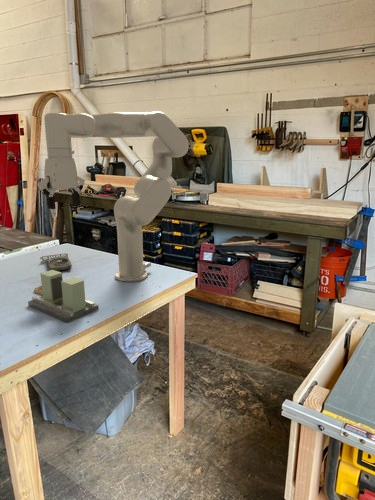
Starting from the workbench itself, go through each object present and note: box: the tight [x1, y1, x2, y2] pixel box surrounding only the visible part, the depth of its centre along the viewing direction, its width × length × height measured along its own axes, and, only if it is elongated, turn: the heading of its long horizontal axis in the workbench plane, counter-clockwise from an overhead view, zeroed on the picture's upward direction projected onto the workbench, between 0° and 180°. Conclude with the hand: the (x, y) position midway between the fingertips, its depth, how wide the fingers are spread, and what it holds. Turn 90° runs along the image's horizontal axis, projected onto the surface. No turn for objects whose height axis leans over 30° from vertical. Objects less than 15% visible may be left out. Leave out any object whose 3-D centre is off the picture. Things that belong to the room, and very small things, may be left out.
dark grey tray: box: [27, 295, 99, 324], centre depth 120 cm, size 12×20×3 cm, turn 54°
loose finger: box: [40, 270, 63, 303], centre depth 122 cm, size 4×6×9 cm
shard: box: [33, 285, 43, 295], centre depth 136 cm, size 11×8×2 cm
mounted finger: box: [61, 276, 86, 312], centre depth 116 cm, size 4×6×9 cm
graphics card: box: [39, 253, 73, 271], centre depth 160 cm, size 17×4×12 cm
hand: (64, 206), depth 125 cm, fingers open, 9 cm apart
